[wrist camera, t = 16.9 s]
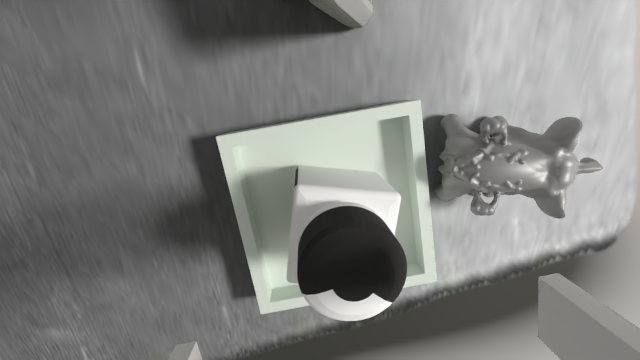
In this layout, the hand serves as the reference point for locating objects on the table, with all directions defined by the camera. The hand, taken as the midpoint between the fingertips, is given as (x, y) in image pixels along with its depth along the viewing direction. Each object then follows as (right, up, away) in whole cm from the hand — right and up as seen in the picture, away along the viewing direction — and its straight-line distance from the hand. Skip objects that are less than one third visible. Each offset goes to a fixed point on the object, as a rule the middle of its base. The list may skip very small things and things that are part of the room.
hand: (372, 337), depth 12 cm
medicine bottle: (-1, +4, +16) cm, 17 cm away
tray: (-1, +4, +17) cm, 17 cm away
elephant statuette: (+13, +9, +17) cm, 23 cm away
